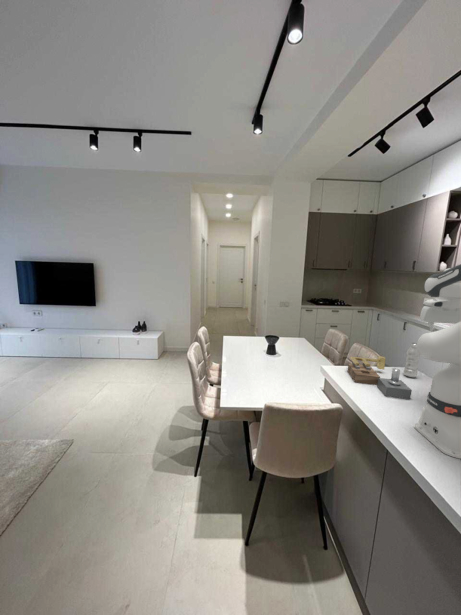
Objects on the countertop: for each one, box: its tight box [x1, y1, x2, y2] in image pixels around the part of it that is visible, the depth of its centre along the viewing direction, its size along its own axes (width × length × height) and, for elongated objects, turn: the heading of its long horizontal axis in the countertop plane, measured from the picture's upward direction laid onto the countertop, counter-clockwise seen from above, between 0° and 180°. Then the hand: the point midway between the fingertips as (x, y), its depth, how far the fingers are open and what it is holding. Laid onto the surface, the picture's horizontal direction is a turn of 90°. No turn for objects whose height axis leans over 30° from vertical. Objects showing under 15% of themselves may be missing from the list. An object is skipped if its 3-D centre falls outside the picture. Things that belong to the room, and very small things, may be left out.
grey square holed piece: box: [376, 377, 413, 400], centre depth 130 cm, size 11×11×5 cm
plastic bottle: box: [403, 342, 421, 378], centre depth 150 cm, size 6×7×20 cm
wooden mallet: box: [350, 355, 387, 370], centre depth 153 cm, size 12×19×7 cm, turn 80°
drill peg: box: [388, 367, 401, 386], centre depth 130 cm, size 5×5×12 cm
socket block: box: [347, 361, 381, 386], centre depth 147 cm, size 16×12×6 cm
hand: (443, 332), depth 122 cm, fingers open, 8 cm apart
